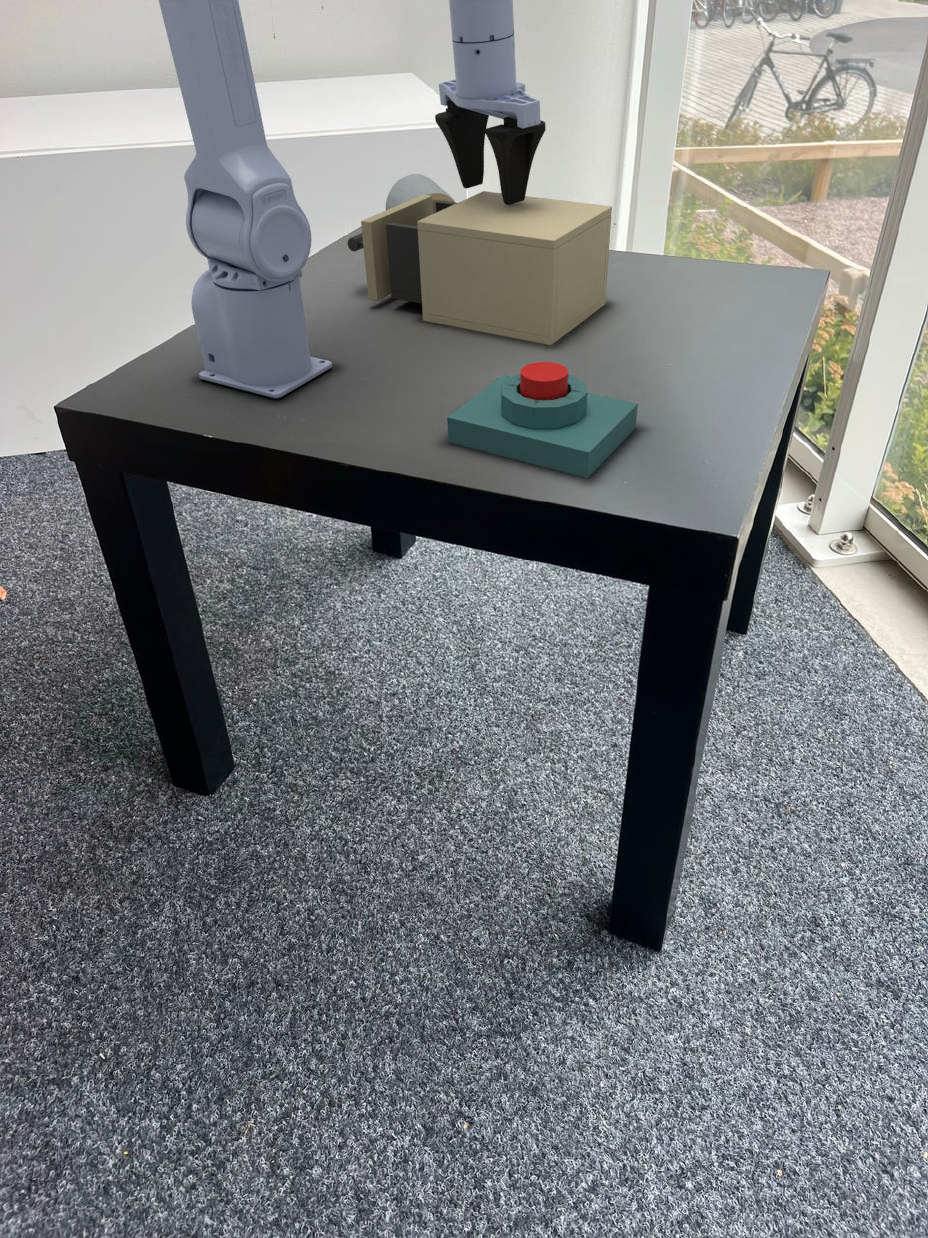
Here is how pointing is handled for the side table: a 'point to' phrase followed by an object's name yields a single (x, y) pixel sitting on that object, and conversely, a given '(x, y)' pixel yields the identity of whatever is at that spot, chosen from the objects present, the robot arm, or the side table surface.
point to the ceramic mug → (415, 191)
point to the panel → (544, 426)
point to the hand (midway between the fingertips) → (493, 193)
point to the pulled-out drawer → (394, 249)
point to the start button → (544, 381)
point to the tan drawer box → (514, 265)
